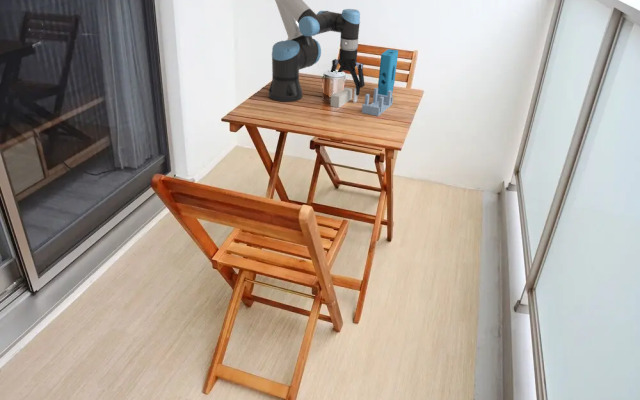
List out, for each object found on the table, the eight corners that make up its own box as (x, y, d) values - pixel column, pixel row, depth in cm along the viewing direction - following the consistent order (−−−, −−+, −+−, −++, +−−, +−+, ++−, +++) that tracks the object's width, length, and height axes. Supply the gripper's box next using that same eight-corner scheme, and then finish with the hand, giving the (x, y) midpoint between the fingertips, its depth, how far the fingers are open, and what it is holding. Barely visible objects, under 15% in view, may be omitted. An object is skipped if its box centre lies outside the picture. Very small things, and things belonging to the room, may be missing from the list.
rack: (378, 116, 200) (380, 99, 197) (361, 112, 203) (363, 96, 200) (392, 104, 214) (394, 89, 210) (376, 101, 216) (377, 86, 213)
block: (386, 101, 218) (391, 56, 207) (376, 99, 219) (380, 54, 209) (393, 93, 227) (398, 50, 217) (383, 92, 229) (388, 49, 219)
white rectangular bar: (338, 108, 208) (339, 96, 205) (330, 106, 209) (331, 95, 207) (351, 99, 218) (352, 88, 216) (343, 97, 220) (344, 87, 217)
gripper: (321, 46, 206) (319, 97, 217) (369, 54, 198) (364, 106, 209) (329, 43, 212) (326, 93, 223) (375, 50, 203) (370, 102, 215)
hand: (345, 99), depth 216 cm, fingers open, 9 cm apart
